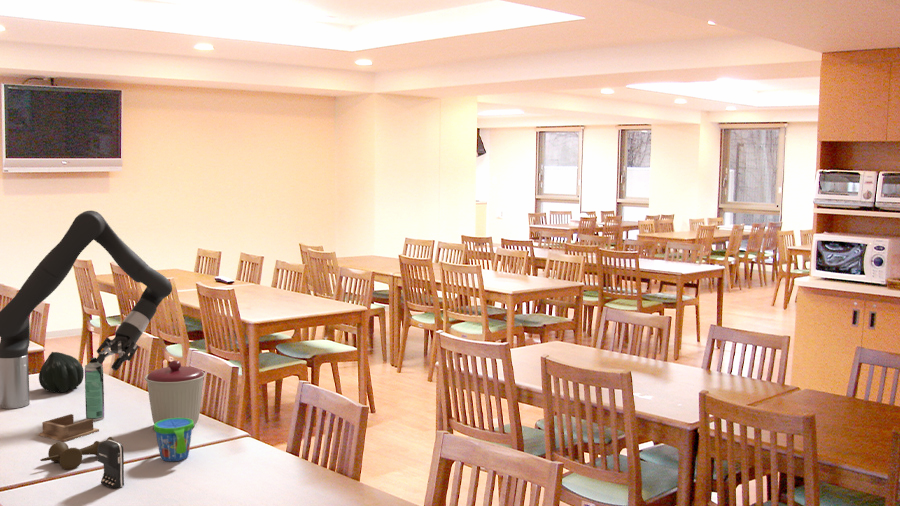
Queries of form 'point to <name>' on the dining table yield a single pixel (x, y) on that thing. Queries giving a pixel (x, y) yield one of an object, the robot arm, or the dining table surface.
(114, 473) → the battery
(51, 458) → the kendama
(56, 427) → the keeper cradle
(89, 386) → the spray can
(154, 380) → the canister
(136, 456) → the dining table surface
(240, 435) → the dining table surface
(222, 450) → the dining table surface
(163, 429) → the snack cup
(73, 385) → the squash
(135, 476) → the dining table surface
